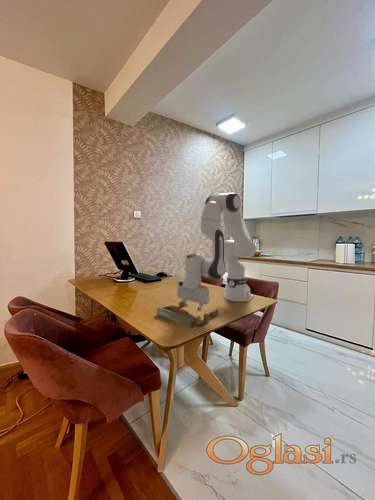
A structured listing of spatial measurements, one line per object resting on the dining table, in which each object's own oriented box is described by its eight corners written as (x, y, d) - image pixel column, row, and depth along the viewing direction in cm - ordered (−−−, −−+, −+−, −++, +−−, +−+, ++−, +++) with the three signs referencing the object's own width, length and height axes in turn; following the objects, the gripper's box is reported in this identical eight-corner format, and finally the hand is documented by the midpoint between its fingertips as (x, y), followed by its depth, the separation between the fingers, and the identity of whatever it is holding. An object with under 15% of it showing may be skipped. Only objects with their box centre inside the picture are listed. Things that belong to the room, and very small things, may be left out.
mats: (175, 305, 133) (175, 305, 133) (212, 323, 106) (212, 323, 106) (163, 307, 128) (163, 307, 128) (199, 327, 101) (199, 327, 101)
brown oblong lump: (199, 320, 110) (194, 310, 108) (189, 330, 107) (184, 320, 104) (179, 309, 125) (174, 301, 122) (170, 318, 121) (165, 309, 119)
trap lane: (184, 305, 133) (184, 298, 133) (218, 314, 118) (218, 307, 118) (156, 315, 117) (156, 307, 116) (192, 327, 101) (192, 319, 101)
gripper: (212, 285, 115) (211, 311, 116) (182, 280, 128) (182, 303, 129) (205, 287, 110) (204, 314, 111) (175, 281, 123) (175, 306, 124)
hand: (192, 308), depth 120 cm, fingers open, 8 cm apart
